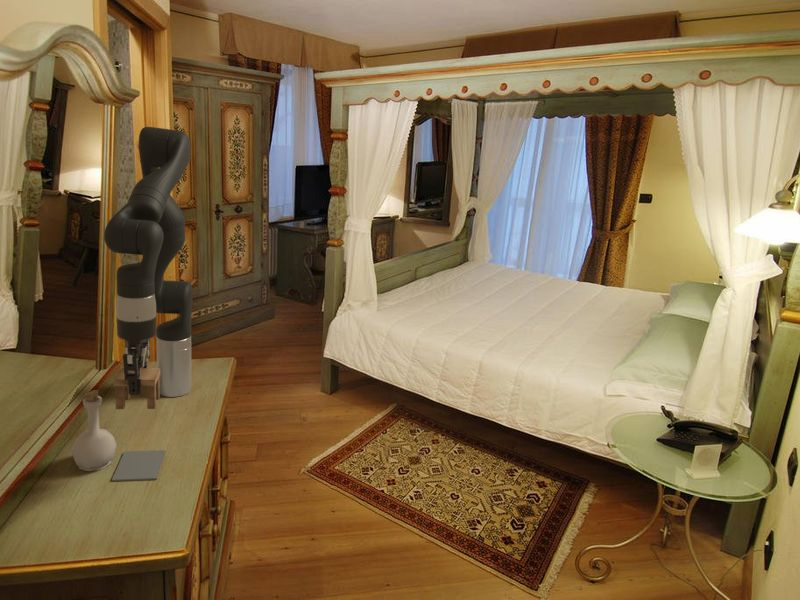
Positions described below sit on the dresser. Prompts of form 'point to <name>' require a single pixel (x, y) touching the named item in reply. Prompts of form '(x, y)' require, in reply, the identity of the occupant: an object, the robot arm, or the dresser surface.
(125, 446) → the dresser surface
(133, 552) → the dresser surface
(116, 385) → the small wooden bench
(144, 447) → the dresser surface
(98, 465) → the potion bottle
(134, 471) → the mat
